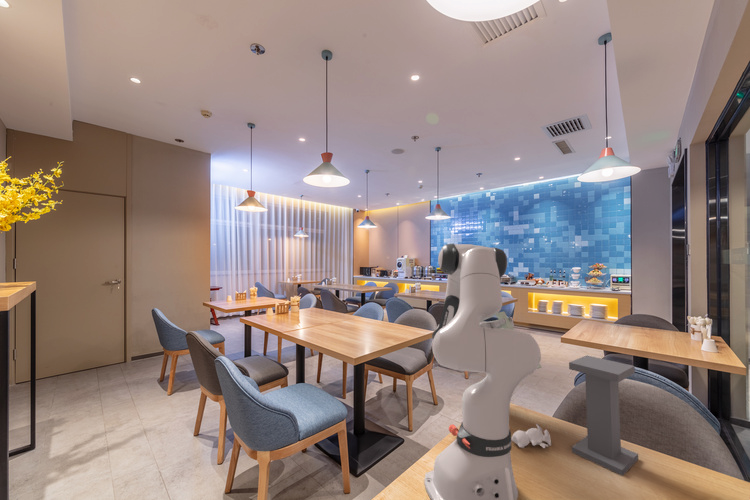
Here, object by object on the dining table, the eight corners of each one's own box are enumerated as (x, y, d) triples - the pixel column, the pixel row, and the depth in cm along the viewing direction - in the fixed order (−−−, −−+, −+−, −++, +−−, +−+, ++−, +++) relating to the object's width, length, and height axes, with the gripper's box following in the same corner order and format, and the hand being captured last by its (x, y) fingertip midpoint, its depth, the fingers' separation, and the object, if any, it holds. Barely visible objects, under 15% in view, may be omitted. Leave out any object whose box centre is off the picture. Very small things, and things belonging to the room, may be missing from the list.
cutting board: (521, 374, 103) (526, 373, 102) (490, 315, 114) (493, 312, 112) (537, 369, 108) (541, 367, 107) (505, 312, 119) (509, 310, 118)
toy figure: (532, 431, 100) (502, 437, 96) (532, 417, 100) (502, 423, 97) (560, 450, 90) (528, 458, 86) (560, 434, 90) (528, 441, 87)
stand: (622, 475, 79) (618, 374, 80) (571, 452, 89) (569, 362, 90) (638, 459, 85) (634, 365, 86) (589, 438, 95) (586, 355, 96)
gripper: (461, 328, 118) (487, 314, 108) (493, 322, 129) (519, 309, 120) (467, 343, 115) (495, 331, 106) (499, 336, 127) (527, 324, 117)
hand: (508, 319), depth 113 cm, fingers closed on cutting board, 3 cm apart
